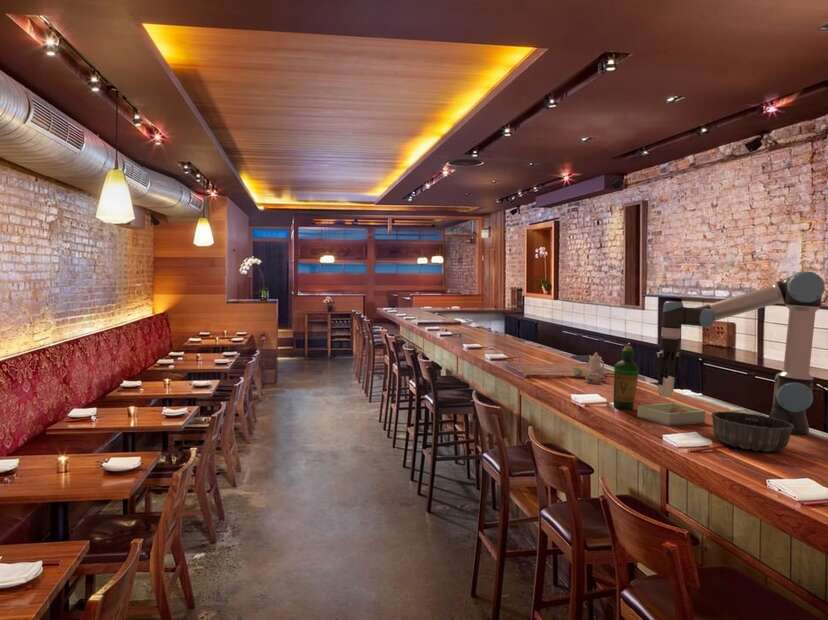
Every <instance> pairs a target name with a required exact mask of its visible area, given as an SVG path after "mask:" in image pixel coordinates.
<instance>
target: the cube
mask: <svg viewBox="0 0 828 620" xmlns="http://www.w3.org/2000/svg"><path fill="white" fill-rule="evenodd" d="M687 410H688V409H685V408H681V407H669V413H680V412H687Z"/></svg>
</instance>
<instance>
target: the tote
mask: <svg viewBox="0 0 828 620" xmlns="http://www.w3.org/2000/svg"><path fill="white" fill-rule="evenodd" d="M669 407H681V408H685V409H688V410H687V412H680V413H669ZM636 415H637V416H636V417H637V418H640V419H643V420H646V421H648V422H649V421H650V422H653V423H655V424H659V425H663V426H666V427H675V426H685V425H686V426H687V425H697V424H705V422H706V421H705V420H706V410H703V409H699V408H695V407H690V406H687V405H683V404H679V403H675V402H669V403H667V402H666V403H665V402H664V403H654V404H641V405H640V404H639V405H637V414H636Z"/></svg>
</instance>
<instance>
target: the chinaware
mask: <svg viewBox="0 0 828 620" xmlns="http://www.w3.org/2000/svg"><path fill="white" fill-rule="evenodd" d="M588 357H589V360H588V363H587V367H586V368H584V367H583V368H581V367H578V366H576V367H572V366H571V367H570V370H571V373H572V375H573V376H574V378H580V377H581V376H583V375H584V378H585V380H586V382H587V383H588V384H594V383H595V382H602V381H603V379H604V378H605V374H604V372H603V370H604V368H605V362H604V361H603V360H602V356H600V355H599V354H598V352H597V351H596V352H595V353H594V354H593V355H591V354H590V355H588ZM601 364H602V366H601ZM585 370H586V371H585Z"/></svg>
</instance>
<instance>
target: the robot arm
mask: <svg viewBox="0 0 828 620" xmlns="http://www.w3.org/2000/svg"><path fill="white" fill-rule="evenodd" d="M825 285H826V284H825V282H824V279H822V277H821V276H820V275H819V274H817V273H815V272H814V271H807V270H805V271H802V270H801V271H799V272H796V273H794V274H791V275H790V276H789V277H786V278H783V279H781V280H778V281H775V282H774V284H773V285H769V286H767V287H763V288H759V289H756V290H753V291H750V292H746V293H742V294H740V295H736V296H735V295H734V296H733V297H732V296H731V297H729V298H726V299H722V300H718V301H715V302H712V303H710V304H706V305H703V306H697V307H686V306H684V303H683V302H681V301H671V300H668V301H664V303H663V308H662V322H661V334H660V336H661V338H660V343H659V346H660V347H661V349H660V351H659V352H658V351H657V352H655V358H656V359H655V366H654V367H655V369H654V370H655V371H654V376H656V377H657V379H658V380H657V385H658V386H657V392H658V393H659V392H661V393H664V390H665V379H670V380H673V384H672V394H673V393H674V388H675V383H676V378H678V377H679V376H680V370H681V369H680V368H681V358H682V354H683V353H682V352H678V349H679V348H680V343H681V339H680V338H681V334H682V333H681V331H682V326H691V327H692V326H693V327H702V328H711V327H713V326H714V322H715V321H718V320H723V319H726V318H730V317H733V316H738V315H741V314H744V313H748V312H751V311H752V312H753V311H755V310H759V309H763V308H765V307H770V306H773V305H776V304H782V305H785V307H786V308H787V309H788V310H789V312H788V319H787V330H786V341H785V348H784V349H785V351H784V361H783V370H782V371H781V372H778V373H776V374H775V378H774V381H773V382H774V386H773V387H774V389H773V398H772V399H773V400H772V408H771V411H770V413H769V415H768V417H772V418H775V419H779V420H784V421H786V422H788V423H791V424H793V426H794V428H793V429H792V431H791V434H792V435H808V434H810V433H809V432H810V426H809V423H808V419H807V415H806V414H807V413H806V411H807V409H808V408H810V407H811V405H812V403H813V401H814V395H813V385H814V377H813V376H812V375H811V374H810V369H811V359H812V348H813V339H814V329H815V321H816V312H818V310H819V309H821V307H822V296H823V294H824V292H825V289H826V287H825ZM667 367H668V371H669V375H668V376H667V378H666V377H665V375H666V371H667Z"/></svg>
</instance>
